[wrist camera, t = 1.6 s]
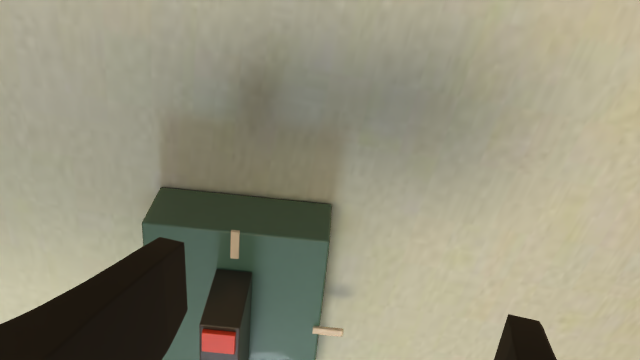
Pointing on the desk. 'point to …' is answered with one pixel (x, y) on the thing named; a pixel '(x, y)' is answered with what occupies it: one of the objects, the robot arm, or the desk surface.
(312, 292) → the panel
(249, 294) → the battery with red terminal
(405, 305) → the desk surface
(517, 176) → the desk surface
